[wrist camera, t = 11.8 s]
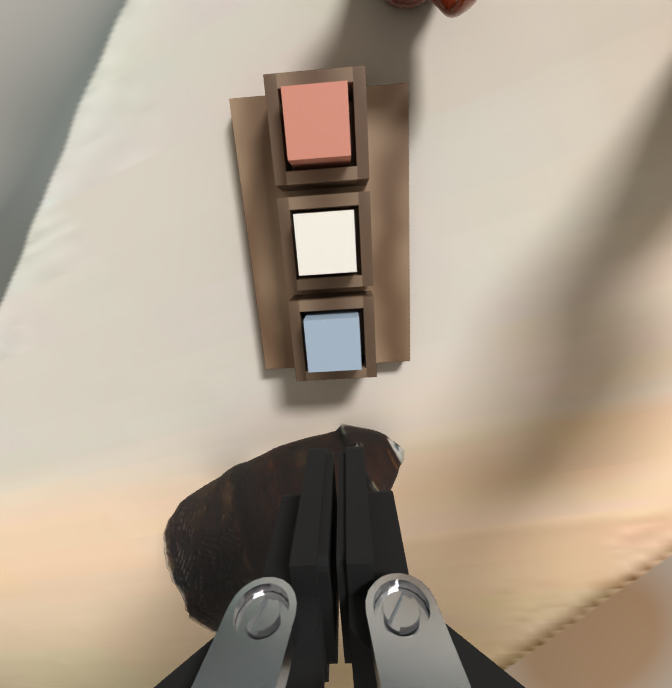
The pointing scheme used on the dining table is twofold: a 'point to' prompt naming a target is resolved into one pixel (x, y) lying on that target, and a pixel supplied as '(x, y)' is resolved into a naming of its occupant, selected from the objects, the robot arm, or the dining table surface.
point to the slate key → (333, 340)
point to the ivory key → (325, 242)
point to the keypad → (324, 196)
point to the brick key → (317, 125)
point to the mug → (450, 3)
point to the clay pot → (253, 517)
